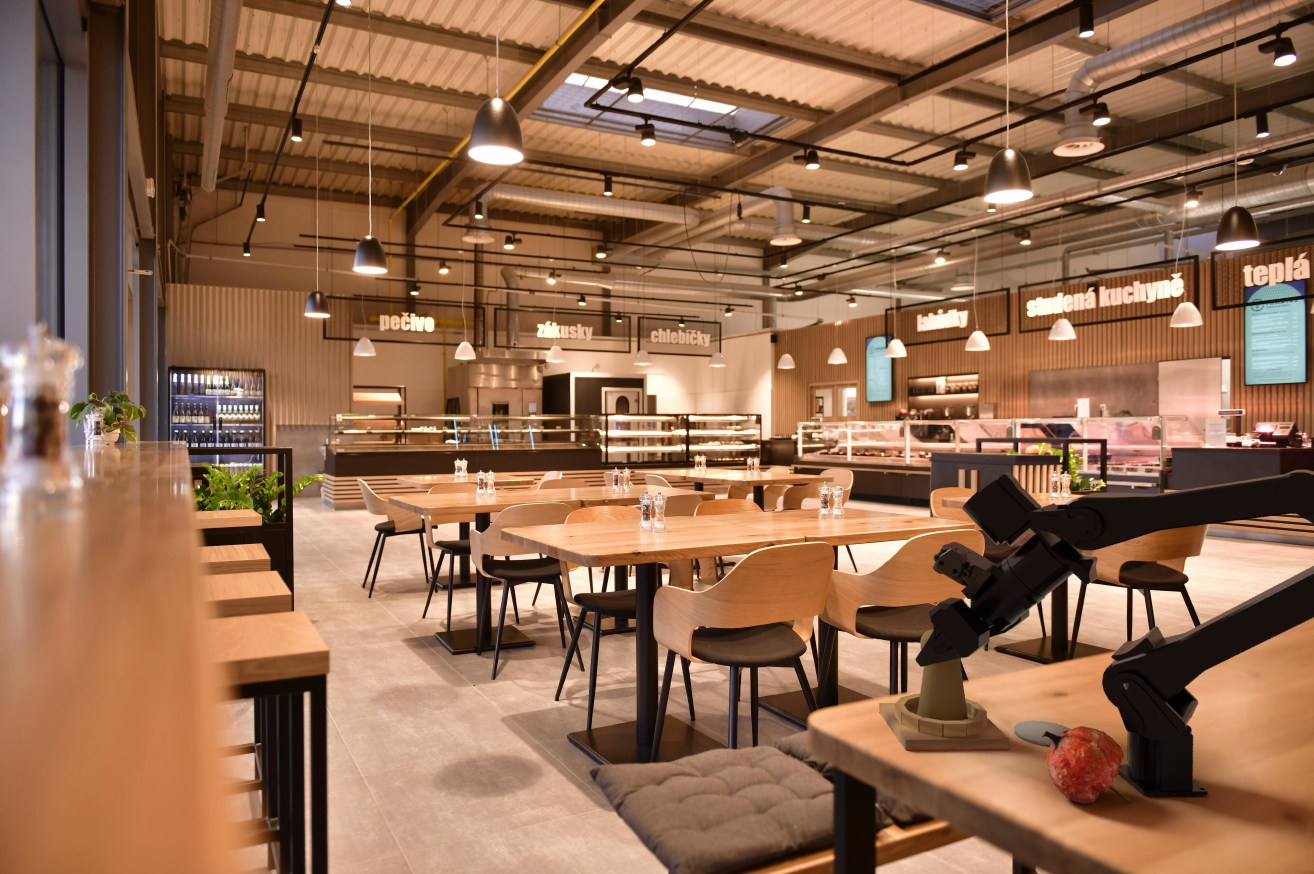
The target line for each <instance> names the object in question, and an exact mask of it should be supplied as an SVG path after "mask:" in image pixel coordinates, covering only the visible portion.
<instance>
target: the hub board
mask: <svg viewBox="0 0 1314 874" xmlns="http://www.w3.org/2000/svg"><path fill="white" fill-rule="evenodd" d="M919 698H920V692H919V693H912V694H909V695H905V696H901V697H899V699H898V700H897V701H896V702H879V703H878V704H879V706H878V710H879V711H878V712H879V714H880V715H881V717H882V718H883V720H884V721H885V722H886V724H887V726H889V728H890V730H891V731H892V733H893V734H894V736H895V737H896V738H897V739H898V741H899V743H900V744H901V746H902V747H903V748H904V750H905V751H924V750H925V751H927V750H929V751H930V750H931V751H932V750H933V751H934V750H936V751H938V750H940V751H942V750H944V751H945V750H952V749H953V750H1009V749H1010V738H1009V737H1008V736H1007V735H1006V734H1005V733H1004V732H1003V731H1002V730H1001V729H1000V728H999V727H998V726H997V725H996V724H995V723H994V722H993V721H992V720H990V718H989V717H988V711H987V710H986V709H985V708H984V707H983V706H982V705H981V704H980V703H978V702H976V701H972V700H970V699H968V698H965V701H966V708H967V715H968V719H966V720H962V721H941V720H935V719H929V718H924V717H921V716H918V715H917V713H918V706H919ZM953 750H952V751H953Z"/></svg>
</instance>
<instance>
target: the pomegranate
mask: <svg viewBox="0 0 1314 874" xmlns="http://www.w3.org/2000/svg"><path fill="white" fill-rule="evenodd" d="M1044 736H1046V737H1049V738H1050V739H1051V740H1052V744H1051V746H1049V747H1048V750H1047V754H1046V764H1047V768H1048V774H1049V776H1050V779H1051V782H1052V784H1053V786H1054V787H1055V788H1056V789H1057V790H1058V791H1059V793H1061V794H1062V795H1063V796H1064V797H1065V798H1067V799H1070V800H1071V801H1073V802H1076V803H1080V804H1081V805H1085V804H1093V803H1094V802H1096V800H1097V799H1098V797H1099V795H1100V791H1107V790H1108V789H1110V790H1111V791H1113V792H1114V793H1115V794H1117V795H1118V796H1120V797H1121V798H1122V799H1124V800H1125V801H1126V802H1127V803H1128V804H1130V805H1131V804H1133V802H1132V801H1131V800H1129V799H1128V798H1127V797H1126V796H1125V795H1124V794H1122V792H1121V791H1119V790H1118V789H1116V788H1115V787H1114V786H1113V784H1114V778H1116V777H1117V776H1118V775H1119V774H1118V772H1119V769H1120V764H1122V762H1123V759H1124V757H1125V754H1124V751H1123V749H1122V748H1121V746H1120V745H1119V743H1117V741H1116V740H1115V739H1114V738H1113V737H1111V736H1110V734H1107V733H1106V732H1105V731H1103V730H1099V729H1098V728H1097V729H1096V728H1093V727H1087V726H1081V725H1079V726H1076V727H1072V728H1070V730H1066V731H1063V732H1062V733H1061V734H1060V735H1059V736H1057V735H1054V734H1052V733H1050V732H1048V731H1046V732H1045V733H1044V734H1043V735H1042V737H1044Z"/></svg>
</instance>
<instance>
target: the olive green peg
mask: <svg viewBox="0 0 1314 874" xmlns="http://www.w3.org/2000/svg"><path fill="white" fill-rule="evenodd" d="M932 632H933V629H930V630H927V631H925V632H924V633H923V634H922V635H921V638H920V640H919V641H920V651H921V650H922V648H923V646H924V645H925V643H926V642H927V640H928V639H929V637H930V635H931V634H932ZM961 659H962V658H959V659H954V660H949V661H945V662H940V663H936V664H932V665H928V666H924V667H923V670H922V677H921V685H920V692H919V693H920V698H919V706H918V713H917V715H918V716H921V717H924V718H929V719H935V720H941V721H962V720H966V719H968V715H967V708H966V701H965V699H966V695H965V688H964V679H963V673H962V665H961Z"/></svg>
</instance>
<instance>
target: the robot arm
mask: <svg viewBox="0 0 1314 874" xmlns="http://www.w3.org/2000/svg"><path fill="white" fill-rule="evenodd" d="M961 510H962V511H964V512H965V514H966V515H967V516H968V517H969V518H970V519H971V520H972V522H974V523H975V524H976V525H977V527H979V528H980V530H981V531H982V532H983V533H984V534H985V535H986V536H987V537H988V538H989V539H990V540H991V541H992V543H993V544H994V545H996V546H997V545H1003V544H1004V543H1006V544H1007V545H1008V546H1009V547H1012V546H1014V545H1016V544H1017V543H1019V542H1020V541H1022V540H1023V538H1025V537H1026V536H1027V535H1029V534H1030V533H1031V532H1033V533H1034V534H1033V535H1032V536H1031V537H1030V538H1029V539H1027V540H1026V541H1025V542H1024V543H1023V544H1022V545H1020V546H1019V547H1018V548H1016V550H1015V551H1014V552H1013V553H1011V554H1010V555H1009V556H1008V557H1006V559H1005V558H1004V559H1002V560H1001V561H999V562H998V563H997V564H996V563H994V562H992V560H991V561H990V560H989V559H988V558H986V557H985V556H984V555H981V554H980V553H978V552H976V551H974V550H973V549H971V548H969V547H967V546H965V545H964V544H962V543H960V542H957V541H951V542H949V543H945V544H943V545H942V547H941V548H940V551H939V552H938V553H936V554H934V556H933V561H934V563H933V566H932V569H933V570H934V572H936V573H938V574H939V575H944V576H945V577H948V578H949V579H951V580H952V581H954V582H956V583H957V584H959V585H961V586H963V587H964V588H963V589H961V591H960V592H961V593H962V594H963V596H965V598H966V599H967V600H970V601H969V604H970V605H968V604H967V603H966V602H965V600H964V599H963V598H959V597H949V598H947V599H945V600H942V601H940V602H939V603H937V604H936V605H935V606H934V607H932V609H931V610H930V611H928V612H927V613H928V616H929V617H928V618H929V621H930V623H932V627H933V629H932V630H933V632H932V634H931V635H930V637H929V639H928V640H927V642H926V643H925V645H924V646H923V648H922V650H921V649H920V651H919V653H918V654H917V655H916V657H915V662H916V663H917V665H918V666H919V667H920V668H924V666H928V665H932V664H936V663H940V662H945V661H949V660H954V659H959V658H961V659H966V658H969V657H970V656H972V655H973V654H975V653H977V652H978V651H979V650H981V649H982V648H983V647H985V646H986V645H987V644H988V643H989V642H990V638H993V637H997V636H1000V635H1002V634H1006V633H1007V632H1009V631H1011V630H1012V629H1014V628H1016V627H1018V626H1019V625H1020V624H1022V622H1024V621H1025V620H1026V619H1028V618H1029V617H1030V609H1032V608H1033V607H1034V606H1036V605H1038V604H1040V602H1042V601H1043V600H1044V599H1045V598H1046V596H1048V595H1049V594H1050V593H1051V592H1053V591H1054V590H1055V589H1056V588H1058V587H1059V586H1060V585H1061V584H1062V583H1063V582H1065V581H1066V580H1067V579H1068V578H1070V577H1071V576H1072V575H1073V574H1074V575H1075V576H1076V577H1077V578H1078V579H1079V580H1080V582H1081V583H1082V584H1084V585H1089V584H1091V583H1093V582H1094V581H1095V580H1097V578H1098V571H1097V563H1098V560H1099V559H1098V557H1097V556H1088V555H1085V554H1083V553H1082V552H1081V551H1099V550H1102V549H1104V548H1109V547H1112V546H1114V545H1118V544H1121V543H1125V542H1128V541H1132V540H1134V539H1136V538H1140V537H1143V536H1147V535H1149V534H1153V533H1157V532H1160V531H1166V530H1174V529H1181V528H1189V527H1197V526H1199V527H1200V526H1206V525H1212V524H1213V525H1214V524H1220V523H1221V524H1222V523H1229V522H1236V521H1237V522H1238V521H1245V520H1251V519H1252V520H1253V519H1261V518H1268V517H1269V518H1270V517H1275V516H1284V515H1297V516H1299V517H1300V518H1302V519H1305V520H1306V521H1308V522H1310V523H1311V524H1313V525H1314V471H1312V470H1309V469H1294V470H1292V471H1290V472H1286V473H1283V474H1279V475H1278V474H1277V475H1273V476H1264V477H1259V478H1253V479H1247V480H1238V481H1233V482H1226V483H1220V484H1219V483H1218V484H1213V485H1206V486H1200V487H1199V486H1198V487H1195V488H1187V489H1181V490H1173V491H1169V492H1168V491H1166V492H1161V493H1139V492H1092V493H1089V494H1085V495H1082V496H1079V497H1076V498H1073V499H1071V500H1069V501H1068V502H1067V503H1064V504H1062V503H1061V504H1056V503H1054V502H1053V503H1051V504H1047V505H1045V506H1044V505H1043V506H1042V505H1040V503H1038V501H1037V500H1036V499H1035V498H1034V497H1032V495H1031V494H1030V493H1029V492H1027V490H1026V489H1025V488H1024V487H1022V485H1021V484H1020V482H1019V480H1018V479H1017V478H1016V477H1015V476H1014V475H1013V474H1012V473H1011V472H1005V473H1001V475H1000V476H998V478H997V479H995V480H994V481H992V482H990V483H989V484H988V485H986V486H985V487H984V488H982V489H981V490H978V491H976V492H974V493H973V494H972V495H971V497H969V498H968V500H967V501H966V502H965V503H964V504H963V505H962V508H961ZM1058 536H1060V537H1062V538H1061V539H1060V538H1059V537H1058ZM1080 550H1081V551H1080ZM1313 618H1314V565H1312V566H1310V567H1309V568H1306V569H1305V570H1303V571H1301V572H1299V573H1297V574H1295V575H1293V576H1290V577H1289V578H1288V579H1284V581H1282V582H1280V583H1278V584H1276V585H1273V586H1272V587H1270V588H1268V589H1266V590H1264V591H1262V592H1261V593H1259V594H1256V595H1255V596H1253V597H1251V598H1249V599H1247V600H1245V601H1243V602H1241V603H1239V604H1238V605H1236V606H1234V607H1232V608H1229V609H1228V610H1226V611H1224V612H1222V613H1220V614H1219V615H1216V616H1215V617H1213V618H1211V619H1209V620H1206V621H1205V622H1203V623H1201V624H1199V625H1197V626H1196V627H1194V628H1192V629H1189V630H1187V631H1185V632H1182V633H1180V634H1174V635H1170V636H1165V637H1164V635H1163V633H1162V631H1161V629H1160V627H1158V626H1157V625H1156V626H1154V627H1153V628H1152V629H1150V630H1149V631H1148V632H1147V633H1145V635H1143V636H1141V637H1140V638H1138V639H1135V640H1130V641H1124V643H1123V644H1122V645H1121V646H1120V647H1119V648H1118V649H1117V650H1116V651H1115V652H1113V654H1112V655H1111V659H1112V660H1113V661H1112V662H1111V663H1109V665H1108V666H1107V667H1106V668H1105V670H1104V671H1103V673H1102V680H1101V681H1102V682H1101V686H1102V689H1103V692H1104V695H1105V696H1106V698H1107V700H1108V701H1109V702H1110V703H1111V704H1112V705H1113V706H1114V707H1115V708H1117V710H1118V712H1119V713H1118V714H1119V715H1120V718H1121V720H1122V722H1123V726H1124V727H1125V730H1126V732H1127V743H1126V744H1127V746H1126V747H1127V748H1126V749H1127V750H1126V751H1127V756H1126V757H1127V758H1126V759H1127V764H1122V763H1121V764H1120V769H1119V772H1118V775H1120V776H1121V777H1122V778H1123V779H1124V780H1126V781H1127V782H1128V783H1129V784H1130V785H1132V786H1133V787H1134V788H1135V789H1137V790H1138V791H1139V792H1140V793H1142V794H1143V795H1145V796H1149V797H1150V796H1151V797H1152V796H1155V797H1157V796H1158V797H1159V796H1160V797H1161V796H1164V797H1166V796H1167V797H1168V796H1169V797H1170V796H1171V797H1172V796H1174V797H1175V796H1208V795H1209V789H1208V788H1206V787H1205V786H1204V785H1202V784H1201V783H1200V782H1198V781H1197V780H1195V779H1194V734H1193V728H1192V727H1191V726H1190V725H1189V721H1190V720H1191V719H1192V717H1193V715H1194V714H1195V711H1196V709H1197V707H1198V705H1199V700H1198V699H1197V698H1196V697H1195V696H1194V695H1193V693H1191V692H1190V691H1189V689H1187V688H1186V687H1188V686H1189V685H1190V684H1191V683H1192V682H1194V681H1195V680H1196V679H1197V678H1198V677H1199V676H1200V675H1202V674H1203V673H1205V671H1208V670H1210V669H1212V668H1214V667H1216V666H1218V665H1220V664H1222V663H1224V662H1227V661H1228V660H1230V659H1232V658H1234V657H1236V656H1238V655H1240V654H1243V653H1244V652H1246V651H1249V650H1250V649H1253V648H1254V647H1256V646H1258V645H1261V644H1263V643H1264V642H1267V641H1269V640H1271V639H1273V638H1276V637H1277V636H1279V635H1281V634H1284V633H1285V632H1287V631H1289V630H1292V629H1294V628H1296V627H1298V626H1299V625H1302V624H1304V623H1306V622H1308V621H1310V620H1312V619H1313Z"/></svg>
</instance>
